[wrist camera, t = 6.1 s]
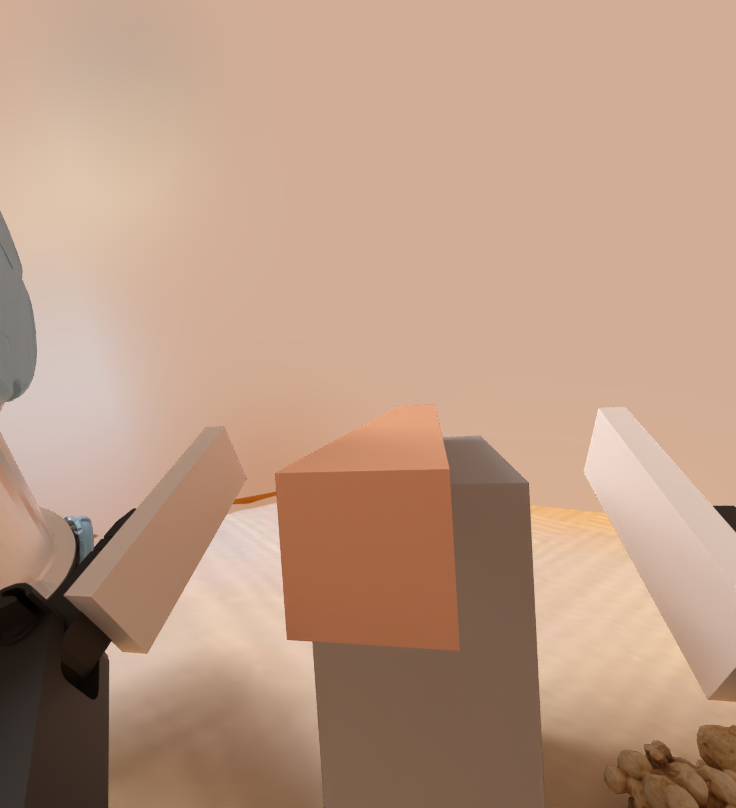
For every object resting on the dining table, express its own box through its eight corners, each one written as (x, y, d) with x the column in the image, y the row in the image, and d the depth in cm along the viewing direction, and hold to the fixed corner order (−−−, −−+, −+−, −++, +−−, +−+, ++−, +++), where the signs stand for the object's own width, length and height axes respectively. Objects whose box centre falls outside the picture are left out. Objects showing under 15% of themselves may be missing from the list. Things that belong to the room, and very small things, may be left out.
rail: (460, 650, 7) (449, 469, 7) (286, 639, 7) (274, 473, 7) (437, 440, 34) (435, 404, 34) (400, 441, 35) (398, 406, 35)
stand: (556, 1045, 19) (528, 482, 18) (337, 991, 21) (301, 486, 20) (496, 726, 37) (480, 435, 36) (380, 715, 39) (362, 440, 38)
